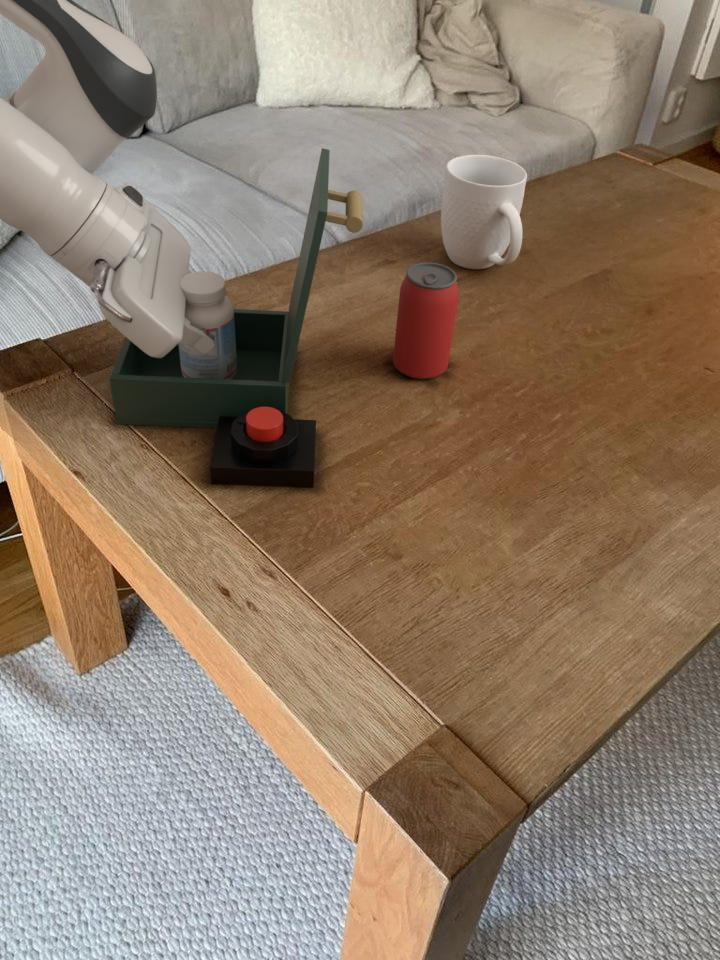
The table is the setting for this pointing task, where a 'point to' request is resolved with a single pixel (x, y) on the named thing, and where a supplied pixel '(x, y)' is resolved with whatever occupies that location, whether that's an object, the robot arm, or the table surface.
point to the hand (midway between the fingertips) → (211, 327)
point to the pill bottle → (209, 327)
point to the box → (204, 379)
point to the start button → (264, 424)
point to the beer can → (425, 320)
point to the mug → (482, 210)
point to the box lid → (316, 251)
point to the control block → (264, 454)
